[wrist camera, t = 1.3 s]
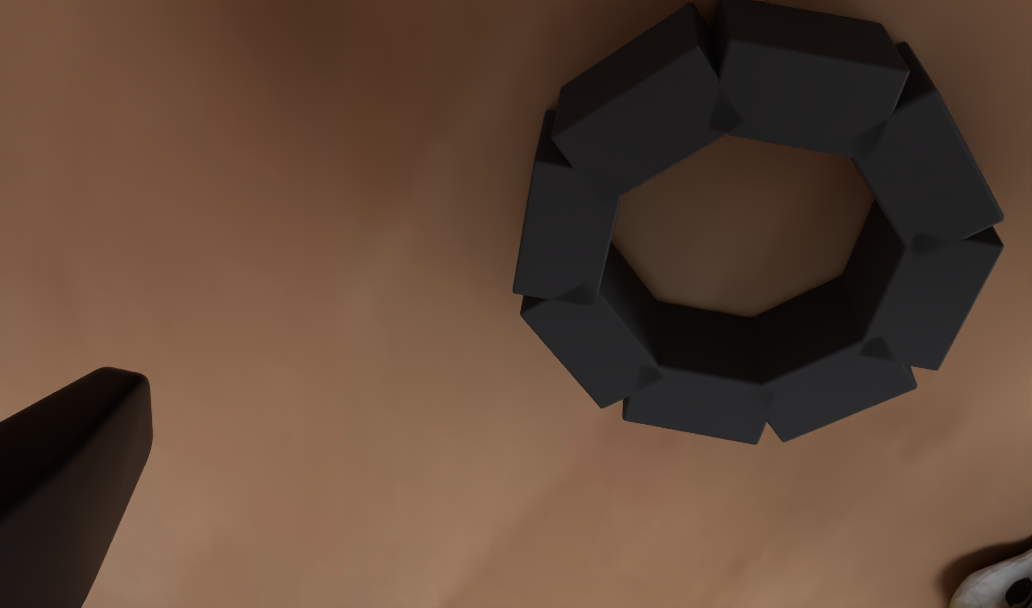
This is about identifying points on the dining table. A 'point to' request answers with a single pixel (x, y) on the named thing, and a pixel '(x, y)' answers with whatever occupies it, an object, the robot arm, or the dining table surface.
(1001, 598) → the pastry
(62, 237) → the dining table surface
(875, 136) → the black octagonal ring
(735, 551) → the dining table surface
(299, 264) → the dining table surface
